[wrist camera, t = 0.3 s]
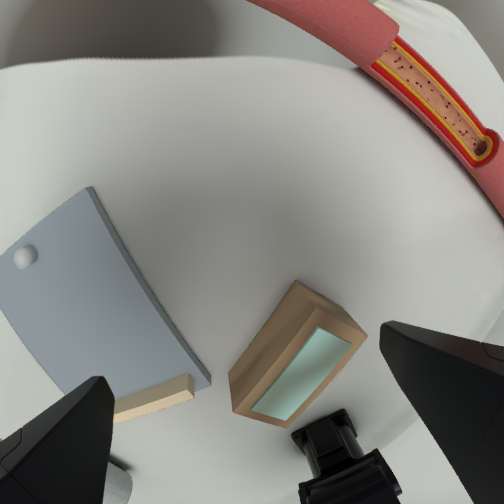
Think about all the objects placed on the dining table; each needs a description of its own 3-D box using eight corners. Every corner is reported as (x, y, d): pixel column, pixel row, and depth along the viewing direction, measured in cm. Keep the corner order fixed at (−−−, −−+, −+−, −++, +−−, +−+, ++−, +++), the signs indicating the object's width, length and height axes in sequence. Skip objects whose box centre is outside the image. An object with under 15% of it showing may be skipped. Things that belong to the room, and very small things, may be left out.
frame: (341, 306, 24) (369, 337, 19) (274, 390, 26) (287, 430, 21) (295, 279, 23) (317, 309, 18) (228, 372, 24) (233, 414, 19)
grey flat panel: (210, 376, 24) (211, 401, 21) (96, 416, 24) (89, 438, 21) (92, 186, 18) (73, 190, 15) (-12, 270, 19) (-32, 283, 15)
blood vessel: (521, 206, 25) (549, 214, 20) (508, 240, 26) (537, 251, 21) (224, -44, 15) (228, -79, 10) (190, -10, 15) (187, -46, 11)
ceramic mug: (82, 431, 25) (65, 482, 17) (137, 466, 27) (130, 516, 20) (49, 451, 25) (34, 491, 18) (96, 481, 28) (88, 521, 21)
